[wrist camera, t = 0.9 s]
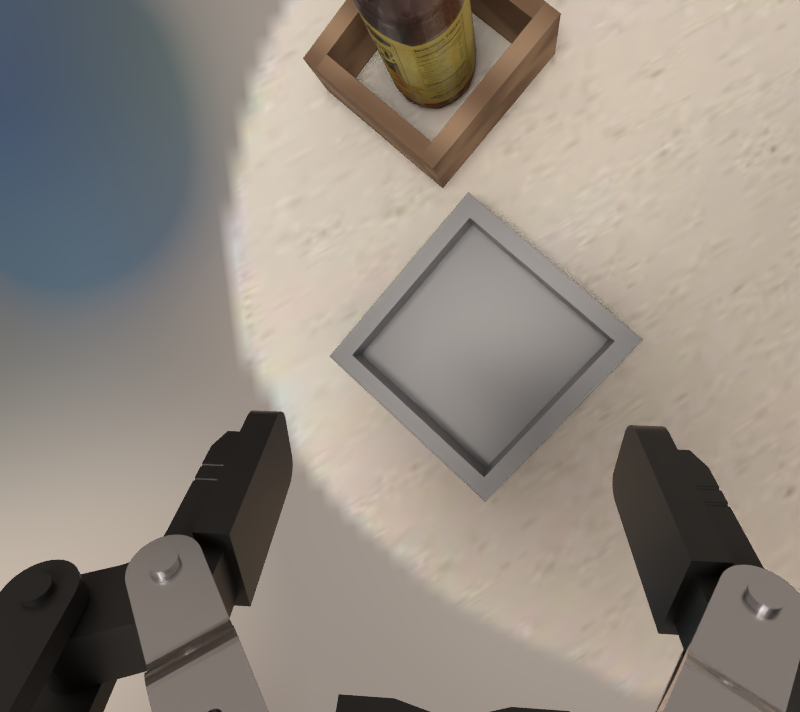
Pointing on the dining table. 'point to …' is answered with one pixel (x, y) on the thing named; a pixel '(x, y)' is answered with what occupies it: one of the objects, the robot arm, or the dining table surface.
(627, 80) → the dining table surface
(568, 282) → the tray
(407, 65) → the sauce bottle
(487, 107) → the bottle holder
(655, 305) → the dining table surface
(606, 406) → the dining table surface
